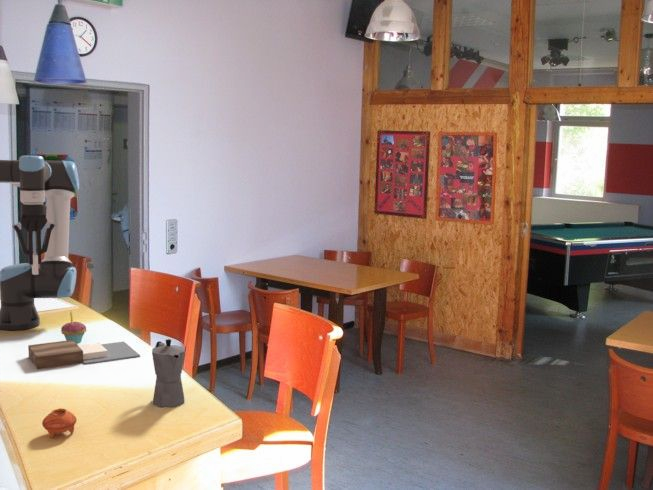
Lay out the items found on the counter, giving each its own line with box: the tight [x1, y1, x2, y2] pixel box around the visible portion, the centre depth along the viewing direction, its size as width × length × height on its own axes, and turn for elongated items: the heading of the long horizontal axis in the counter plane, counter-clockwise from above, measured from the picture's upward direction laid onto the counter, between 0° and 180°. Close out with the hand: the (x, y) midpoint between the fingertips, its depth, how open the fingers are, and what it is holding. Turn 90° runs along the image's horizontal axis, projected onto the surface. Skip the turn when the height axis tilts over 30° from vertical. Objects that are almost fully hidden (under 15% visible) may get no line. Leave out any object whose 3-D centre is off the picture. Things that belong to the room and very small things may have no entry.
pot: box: [41, 408, 77, 439], centre depth 178 cm, size 8×8×7 cm
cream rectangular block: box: [77, 342, 108, 360], centre depth 240 cm, size 10×8×2 cm
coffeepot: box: [151, 338, 186, 408], centre depth 201 cm, size 15×9×18 cm, turn 33°
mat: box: [82, 341, 141, 365], centre depth 243 cm, size 18×18×1 cm
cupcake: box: [60, 310, 87, 344], centre depth 254 cm, size 9×8×12 cm
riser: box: [27, 340, 84, 370], centre depth 235 cm, size 14×14×4 cm
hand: (35, 273), depth 240 cm, fingers closed
